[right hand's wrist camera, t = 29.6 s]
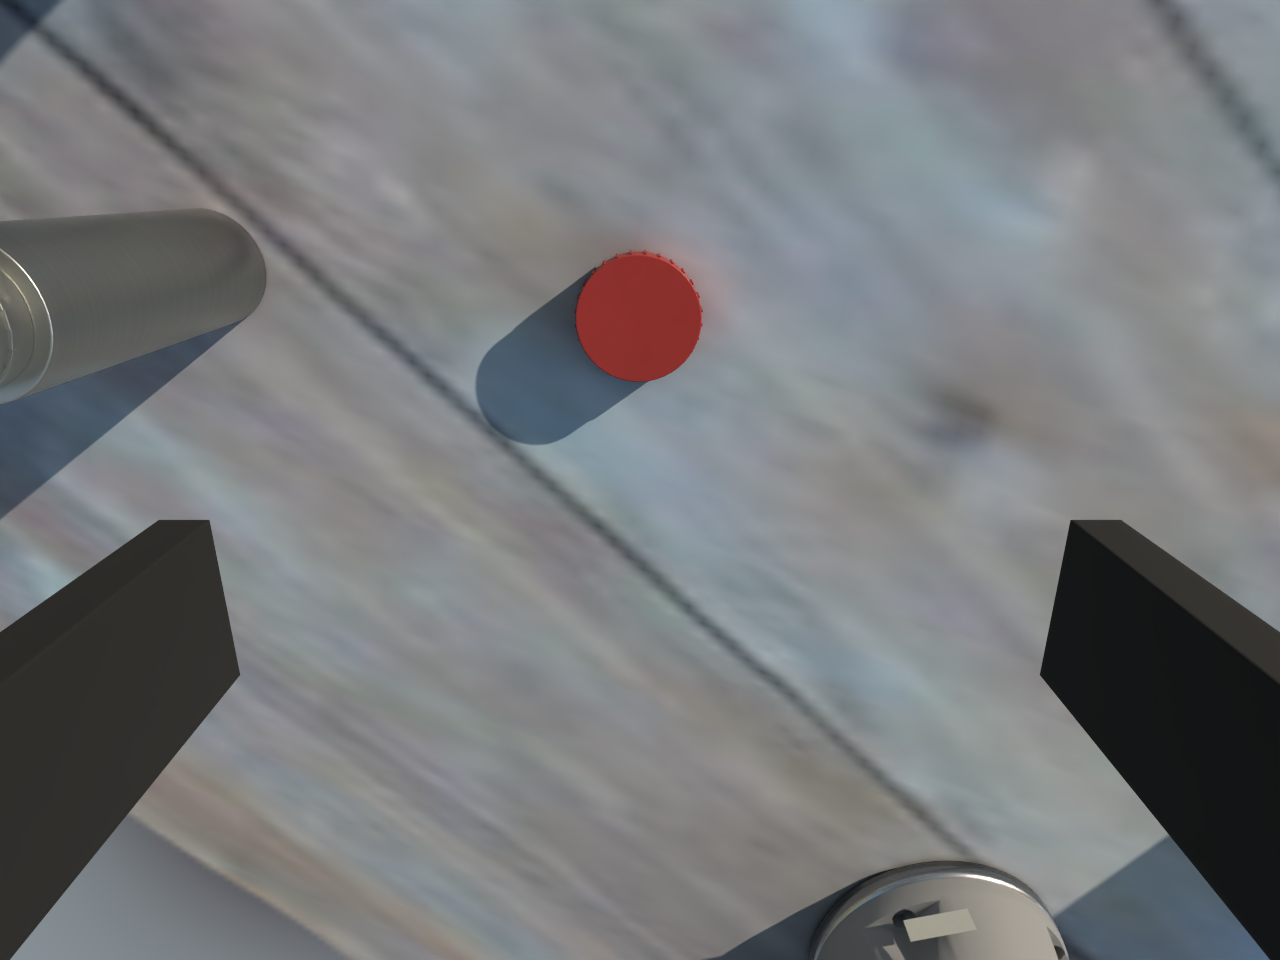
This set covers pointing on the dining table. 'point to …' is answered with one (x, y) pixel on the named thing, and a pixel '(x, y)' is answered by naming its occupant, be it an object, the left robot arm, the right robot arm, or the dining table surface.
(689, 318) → the lid
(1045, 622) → the dining table surface
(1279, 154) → the dining table surface
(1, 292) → the jar
